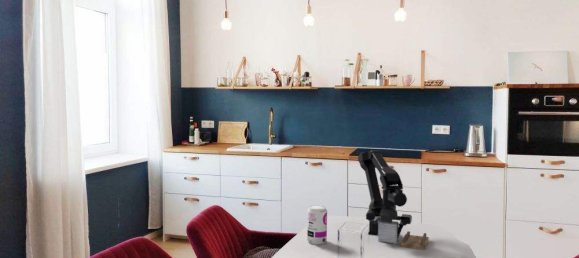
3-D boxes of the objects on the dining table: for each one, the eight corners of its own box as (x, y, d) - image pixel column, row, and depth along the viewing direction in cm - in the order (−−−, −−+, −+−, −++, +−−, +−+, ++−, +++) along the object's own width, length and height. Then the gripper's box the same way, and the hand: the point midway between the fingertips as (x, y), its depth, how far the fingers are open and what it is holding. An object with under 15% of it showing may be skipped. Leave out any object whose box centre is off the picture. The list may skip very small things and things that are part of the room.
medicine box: (398, 241, 208) (399, 221, 207) (396, 244, 204) (396, 224, 203) (380, 238, 211) (380, 219, 211) (377, 241, 207) (378, 221, 206)
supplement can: (328, 240, 208) (329, 206, 207) (323, 245, 200) (324, 210, 199) (310, 238, 211) (311, 204, 210) (304, 243, 203) (305, 208, 202)
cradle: (400, 246, 201) (401, 239, 201) (405, 237, 213) (405, 231, 213) (425, 249, 198) (425, 242, 197) (428, 240, 210) (428, 233, 209)
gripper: (363, 203, 202) (362, 239, 203) (409, 207, 195) (407, 245, 197) (369, 197, 212) (368, 232, 214) (412, 201, 206) (411, 237, 207)
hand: (388, 236), depth 207 cm, fingers closed on medicine box, 8 cm apart
